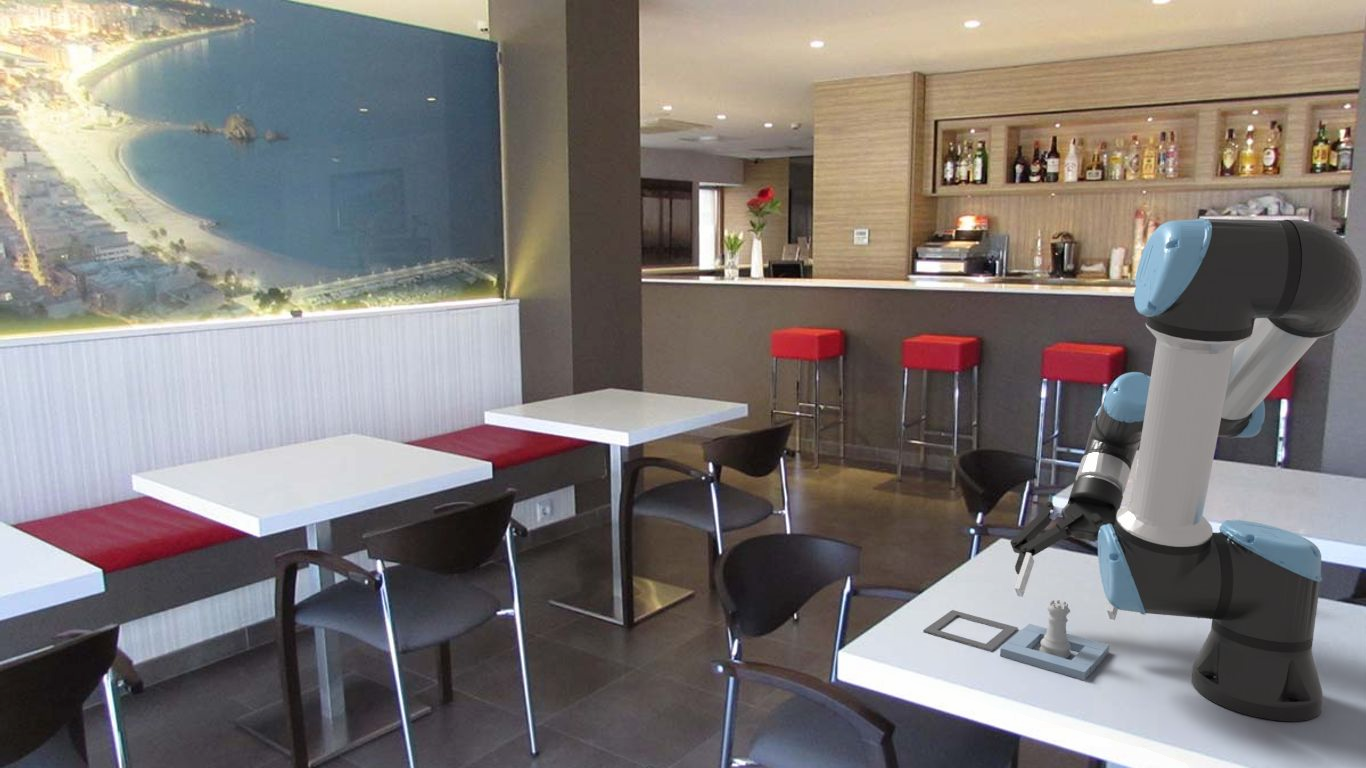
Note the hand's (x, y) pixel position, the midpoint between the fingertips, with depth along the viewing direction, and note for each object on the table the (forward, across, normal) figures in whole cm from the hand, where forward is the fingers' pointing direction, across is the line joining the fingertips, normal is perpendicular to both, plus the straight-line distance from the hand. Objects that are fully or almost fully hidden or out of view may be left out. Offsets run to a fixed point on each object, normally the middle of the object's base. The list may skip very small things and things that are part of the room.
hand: (1063, 603), depth 140 cm
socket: (+7, 0, -2) cm, 8 cm away
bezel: (+7, +13, -2) cm, 15 cm away
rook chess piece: (+8, 0, -2) cm, 8 cm away
